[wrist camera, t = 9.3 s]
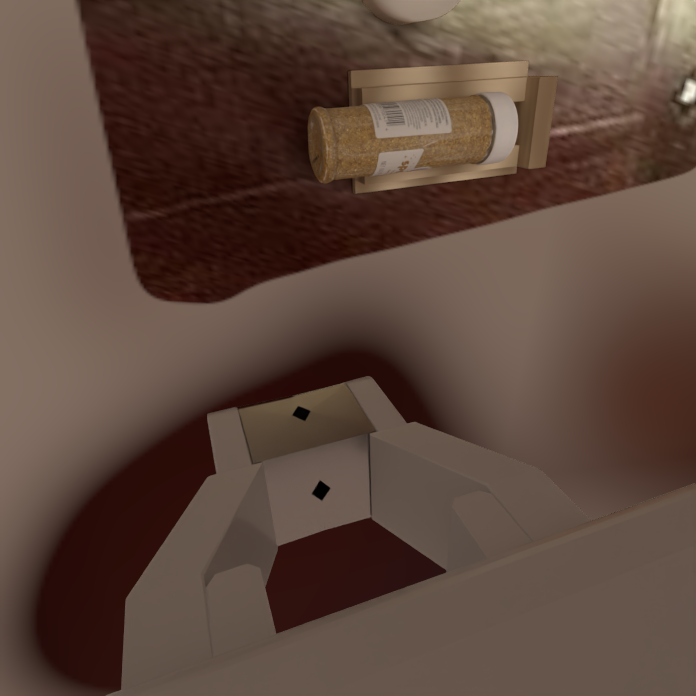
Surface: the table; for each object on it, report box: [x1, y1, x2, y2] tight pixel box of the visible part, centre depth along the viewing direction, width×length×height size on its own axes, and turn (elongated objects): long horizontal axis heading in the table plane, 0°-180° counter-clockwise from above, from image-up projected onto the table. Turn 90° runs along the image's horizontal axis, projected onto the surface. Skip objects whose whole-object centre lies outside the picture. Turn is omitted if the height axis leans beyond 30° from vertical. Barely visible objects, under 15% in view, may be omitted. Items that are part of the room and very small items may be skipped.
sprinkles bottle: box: [308, 92, 518, 183], centre depth 33 cm, size 5×5×13 cm
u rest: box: [348, 61, 558, 194], centre depth 36 cm, size 14×8×4 cm, turn 93°
